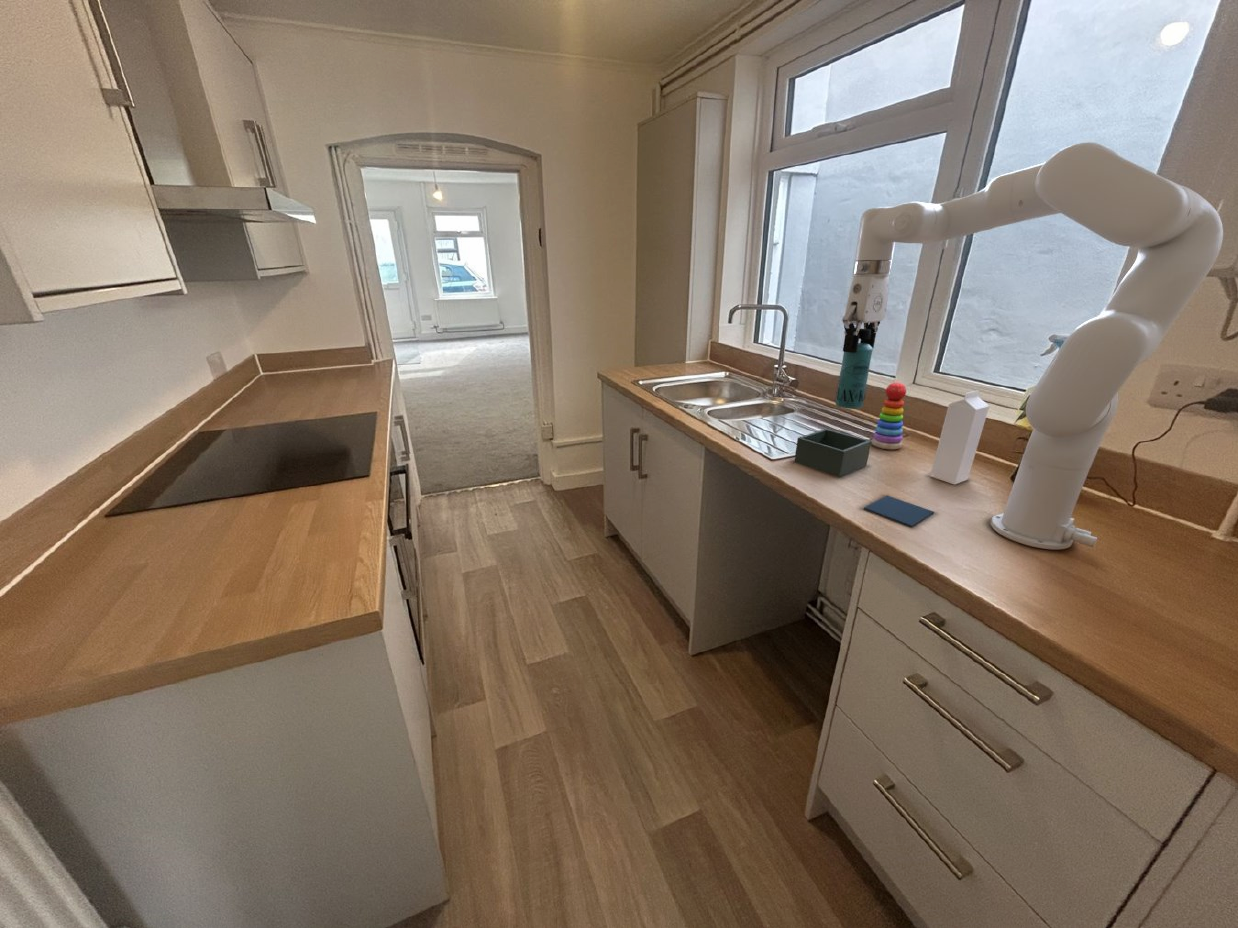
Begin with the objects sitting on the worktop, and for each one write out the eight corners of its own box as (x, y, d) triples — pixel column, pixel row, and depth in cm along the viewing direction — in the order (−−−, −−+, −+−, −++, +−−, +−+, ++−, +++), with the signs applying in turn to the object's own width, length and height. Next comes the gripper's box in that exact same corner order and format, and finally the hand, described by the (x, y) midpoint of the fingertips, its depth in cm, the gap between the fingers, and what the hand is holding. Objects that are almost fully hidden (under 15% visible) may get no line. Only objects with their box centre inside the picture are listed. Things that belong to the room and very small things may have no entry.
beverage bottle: (827, 409, 122) (839, 328, 115) (849, 407, 124) (862, 326, 117) (846, 416, 116) (860, 330, 109) (868, 413, 118) (883, 329, 111)
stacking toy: (894, 441, 145) (907, 380, 138) (906, 451, 138) (921, 386, 131) (866, 441, 146) (879, 379, 139) (877, 450, 138) (890, 386, 131)
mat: (933, 513, 103) (934, 511, 103) (911, 527, 97) (912, 525, 97) (886, 496, 110) (886, 495, 110) (863, 509, 105) (864, 507, 105)
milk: (929, 476, 121) (951, 390, 113) (943, 471, 124) (965, 387, 116) (955, 485, 116) (979, 395, 108) (968, 479, 119) (993, 392, 111)
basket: (866, 465, 128) (871, 440, 125) (839, 477, 120) (844, 451, 118) (821, 451, 137) (825, 428, 135) (794, 462, 130) (797, 437, 128)
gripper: (867, 269, 100) (853, 356, 107) (907, 269, 110) (892, 348, 116) (834, 270, 106) (822, 352, 113) (874, 269, 116) (862, 345, 122)
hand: (858, 349), depth 115 cm, fingers closed on beverage bottle, 6 cm apart
